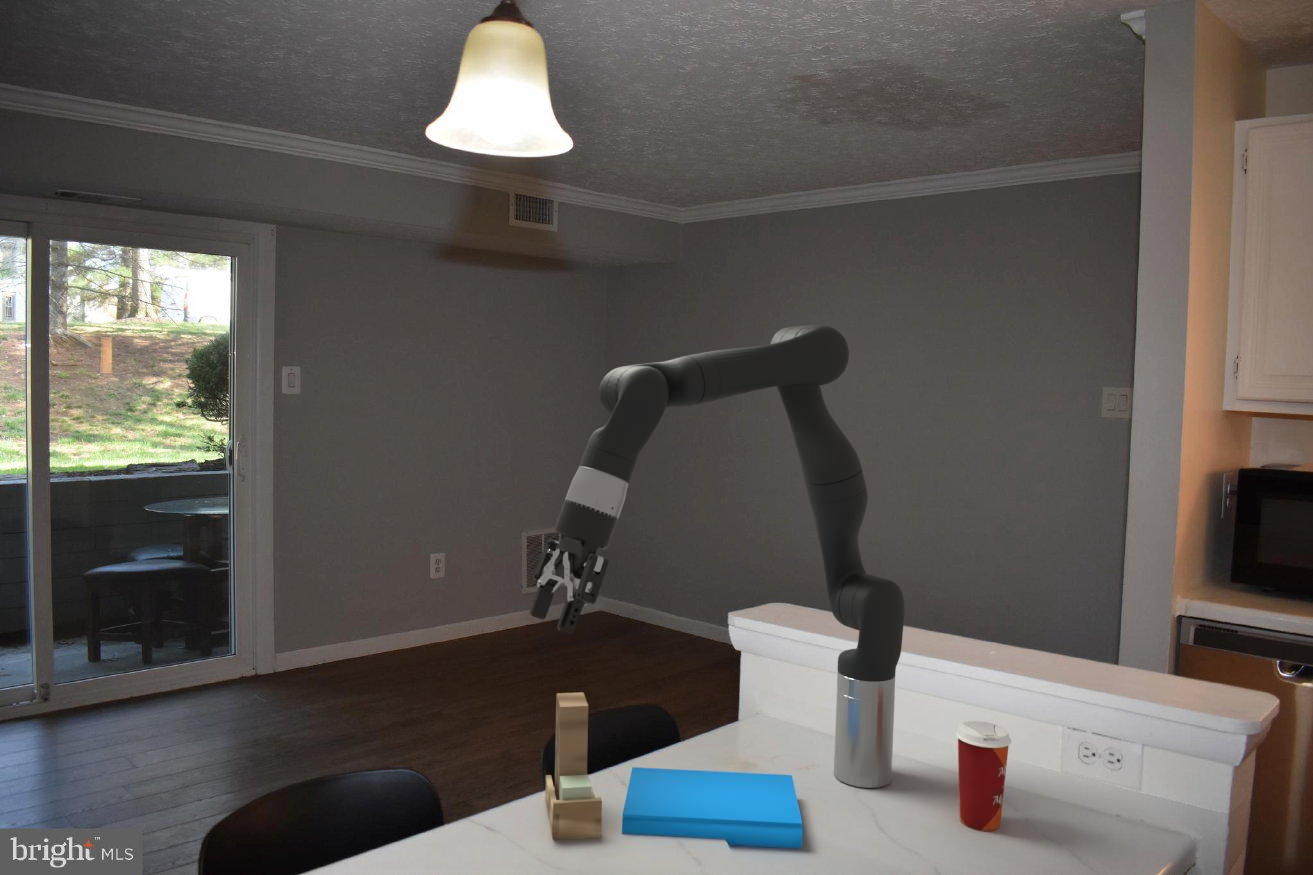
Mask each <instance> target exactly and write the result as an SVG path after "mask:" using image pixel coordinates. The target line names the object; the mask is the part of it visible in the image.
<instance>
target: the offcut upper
mask: <svg viewBox="0 0 1313 875" xmlns="http://www.w3.org/2000/svg"><path fill="white" fill-rule="evenodd" d="M589 779H590V778H589V774H587V775H572V776H560V785H559V798H560V800H566V799H582V798H591V786H592V783H590V782H591V780H589Z"/></svg>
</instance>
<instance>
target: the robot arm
mask: <svg viewBox="0 0 1313 875" xmlns="http://www.w3.org/2000/svg"><path fill="white" fill-rule="evenodd" d="M849 358H850V349H849V345H848V342H847V340H846V338H845V337H844V335H843V334H842V333H841V332H840V330H839V331H838V330H837V329H836V328H835V327H831V326H830V325H824V324H809V325H795V326H787V327H784V328H781V329H779V330H778V331H777V332H776V333H775V334H774V335H773V337H772V339H771V340H770V343H768V344H765V345H758V346H750V347H749V346H748V347H739V348H729V349H728V348H726V349H719V350H710V351H704V352H700V353H695V354H689V355H683V356H680V357H677V358H672V359H669V360H665V361H658V362H646V363H638V364H637V363H636V364H631V365H630V364H629V365H624V366H618V367H616V368H614V369H612V370H610V371H609V372H608V373H607V374H606V375H604V377H603V379H602V380H601V382H600V385H599V388H598V397H599V400H600V403H601V405H602V407H603V408H604V410H605V411H607V412H608V413H609V414H611V415H610V417H609V418H608V421H607V423H605V425H603V426H602V427H600V428H597V429H596V430H594V431H593V433H592V434H591V435H590V437H589V439H588V442H587V444H586V447H585V449H584V452H583V454H582V458H581V460H580V462H579V463H580V464H579V466H578V469H577V471H576V472H575V475H574V476H573V478H572V480H571V483H570V484H569V488H568V491H567V493H566V496H565V499H564V501H563V503H562V507H561V510H560V512H559V515H558V517H557V521H556V522H555V523H556V524H555V526H554V531H555V532H556V533H558V534H560V535H561V539H560V540H559V541H557V540H554V539H550V538H549V539H548V540H546V543H545V545H544V548H543V549H542V550H543V551H542V553H541V555H540V557H539V561H538V562H537V566H536V568H535V571H534V572H533V576H532V579H533V581H536V582H537V583H536V587H537V591H536V594H535V596H534V599H533V602H532V605H531V608H530V609H529V610H530V611H529V615H530V616H532V617H534V618H538V619H540V620H544V619H546V617H547V616H548V612H549V610H550V607H551V604H552V601H553V599H554V595H555V593H554V592H555V591H556V590H558V587H559V586H560V585H561V584H564V585H565V587H566V588H567V589H566V590H567V593H566V595H567V596H566V597H567V600H566V601H565V603H564V605H563V608H562V612H561V613H560V615H559V616H560V617H559V620H558V622H557V626H556V628H557V630H558V631H560V632H563V633H566V634H569V635H570V634H574V632H575V630H576V627H577V624H578V623H579V622H578V621H579V618H580V615H581V613H582V611H583V607H586V606H587V605H589V604H591V605H594V604H595V603H596V602H597V599H598V597H599V594H600V591H601V587H602V584H603V581H604V578H605V575H606V571H607V569H608V565H609V559H608V558H606V557H604V556H600V555H598V549H603V550H605V549H608V548H609V546H610V543H611V540H612V537H613V535H614V533H615V532H614V531H615V529H616V526H617V524H618V523H617V522H618V520H619V517H620V516H621V512H622V509H623V506H624V503H625V501H626V497H627V491H628V487H629V483H630V481H631V479H632V475H633V473H634V470H635V466H636V464H637V461H638V457H639V455H640V453H641V451H642V450H643V448H644V447H645V446H646V444H647V443H648V441H649V440H650V438H651V436H652V435H653V433H654V431H655V430H656V428H657V426H658V425H659V423H660V421H661V419H662V417H663V415H664V413H665V411H666V409H667V408H669V407H670V408H671V407H676V408H677V407H682V408H683V407H691V406H697V405H702V404H705V403H706V404H707V403H711V402H714V401H718V400H722V399H727V398H730V397H735V396H737V395H738V396H739V395H743V394H747V393H750V392H754V391H759V390H764V389H770V388H774V387H776V388H777V391H778V393H779V396H780V399H781V402H782V404H783V407H784V410H785V412H786V416H787V420H788V422H789V425H790V430H791V433H792V437H793V440H794V441H793V442H794V443H795V448H796V452H797V455H798V459H799V463H800V467H801V471H802V475H803V476H802V477H803V482H804V484H805V485H804V486H805V489H806V494H807V497H808V501H809V505H810V509H811V512H812V514H813V520H814V523H815V528H816V529H815V530H816V533H817V537H818V538H817V539H818V542H819V546H820V549H821V550H820V551H821V556H822V562H823V568H824V569H823V570H824V576H825V578H824V579H825V584H826V591H827V597H828V598H827V599H828V603H829V608H830V610H831V613H832V615H833V617H834V618H835V619H836V620H837V621H838V622H839V623H840V624H841V625H843V626H845V627H847V628H850V629H853V630H856V631H858V632H859V633H858V639H857V646H856V648H850V649H846V650H843V651H842V652H840V653H839V655H838V657H837V677H836V678H837V679H836V682H837V683H836V705H835V706H836V708H835V730H834V731H835V732H834V733H835V736H834V738H835V739H834V761H833V763H834V764H833V775H834V777H835V778H836V779H837V780H839V781H840V782H841V783H845V784H847V785H850V786H853V787H858V788H865V789H867V788H868V789H871V788H872V789H873V788H874V789H875V788H881V787H882V788H883V787H885V786H887V785H889V784H890V783H891V782H892V774H893V773H892V772H893V771H892V770H893V768H892V767H893V752H894V750H893V748H894V745H893V744H894V724H895V723H894V722H895V698H896V696H895V693H896V690H895V689H896V672H897V671H896V670H897V666H898V664H899V660H900V659H901V658H900V657H901V654H902V645H903V633H904V623H905V610H906V608H905V598H904V594H903V592H902V589H901V588H900V586H899V585H898V583H896V582H895V581H893V580H891V579H888V578H883V577H880V576H878V575H877V576H876V575H873V574H872V575H871V574H868V573H867V572H866V569H865V567H864V565H863V564H864V563H863V562H862V558H861V553H860V547H859V534H860V530H861V527H862V525H863V521H864V518H865V516H866V511H867V507H868V498H869V497H868V496H869V495H868V489H867V485H866V481H865V476H864V471H863V467H862V464H861V460H860V457H859V455H858V453H857V451H856V450H855V448H854V446H853V445H852V443H851V442H850V440H849V438H848V437H847V436H846V435H845V433H844V431H843V430H842V429H841V428H840V426H839V425H838V424H837V422H836V421H835V419H834V418H833V417H832V415H831V414H830V411H829V410H828V407H827V405H826V402H825V399H824V396H823V392H822V389H821V386H824V385H828V384H831V383H833V382H834V381H837V380H838V379H839V378H840V377H841V376H842V375H843V373H844V372H845V371H846V368H847V367H848V363H849V360H850V359H849ZM589 589H591V590H590V592H589Z"/></svg>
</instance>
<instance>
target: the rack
mask: <svg viewBox="0 0 1313 875" xmlns="http://www.w3.org/2000/svg"><path fill="white" fill-rule="evenodd" d="M589 780H590V778H589ZM590 783H591V780H590ZM591 784H592V783H591ZM544 790H545V793H544V794H545V797H544V799H545V804H546V810H547V815H548V820H549V825H550V832H551V836H552V840H553V841H558V840H571V839H572V840H573V839H585V838H586V839H587V838H588V839H589V838H601V837H602V817H603V816H602V813H603V811H602V809H603V808H602V807H603V799H602V797H601V796H599V797H596V795H595V793H594V789H593V786H592V785H591V798H582V799H566V800H556V796H555V791H554V790H555V785H554V782H553V777H552V775H551V774H546V775H545V789H544Z"/></svg>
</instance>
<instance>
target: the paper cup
mask: <svg viewBox="0 0 1313 875" xmlns="http://www.w3.org/2000/svg"><path fill="white" fill-rule="evenodd" d="M955 736H956V738H957V760H958V762H957V763H958V801H959V802H958V803H959V804H958V805H959V821H960V823H961V824H962V825H964V826H965V827H967V828H969V829H972V830H976V831H981V832H993V831H994V832H995V831H997V830H998V829H1000V826H1001V820H1002V812H1003V811H1002V810H1003V801H1004V793H1005V784H1006V772H1007V765H1008V764H1007V763H1008V754H1009V746H1010V745H1011V744H1012V739H1011V737H1010V736H1009V732H1008V730H1007V729H1006V728H1005V727H1003V726H1002V725H999V724H995V723H991V722H988V721H987V722H986V721H980V720H979V721H977V720H975V721H974V720H972V721H971V720H970V721H965V722H961V723H960V724H959V726H958V730H957V731H956V732H955Z"/></svg>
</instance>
